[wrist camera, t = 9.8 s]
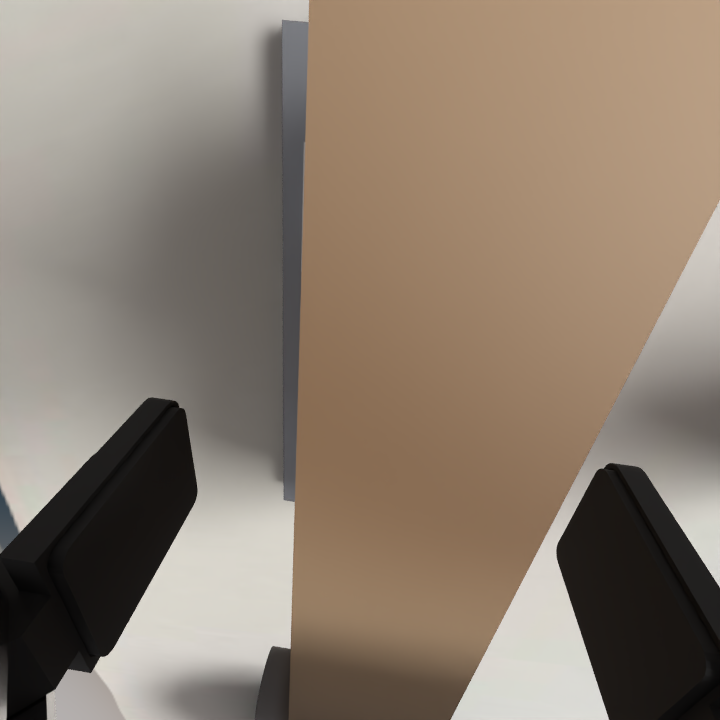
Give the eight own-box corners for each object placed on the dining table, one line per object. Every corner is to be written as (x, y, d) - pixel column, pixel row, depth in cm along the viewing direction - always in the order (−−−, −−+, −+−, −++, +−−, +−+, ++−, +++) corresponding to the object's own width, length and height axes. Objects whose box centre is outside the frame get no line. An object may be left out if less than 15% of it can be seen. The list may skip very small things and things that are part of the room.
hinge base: (292, 26, 11) (241, -11, 8) (586, 56, 11) (663, 30, 8) (289, 484, 21) (264, 557, 17) (449, 508, 20) (457, 588, 17)
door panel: (352, 82, 11) (25, -91, 2) (472, 96, 11) (826, -7, 2) (321, 493, 19) (235, 853, 10) (389, 504, 19) (368, 878, 10)
